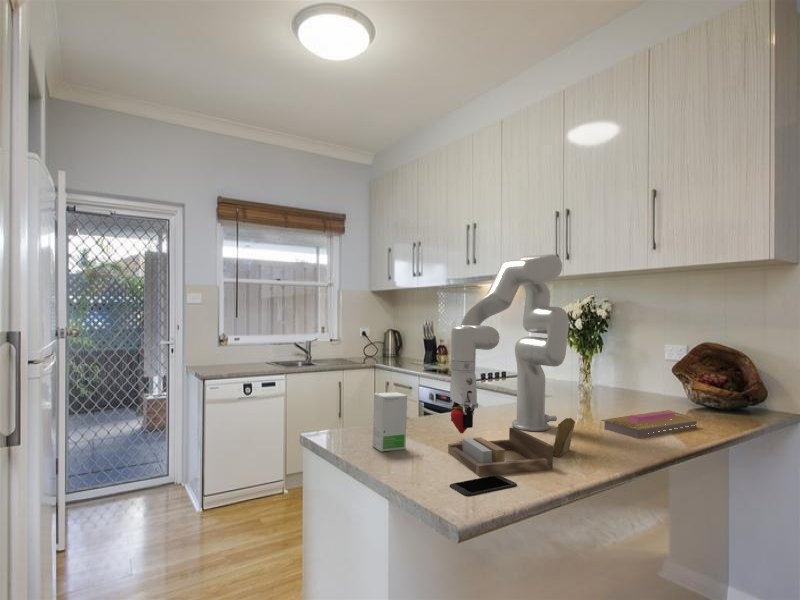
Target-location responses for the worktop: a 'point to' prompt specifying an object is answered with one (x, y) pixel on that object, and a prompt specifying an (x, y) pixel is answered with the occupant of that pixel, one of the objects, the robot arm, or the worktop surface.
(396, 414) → the skincare box
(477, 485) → the smartphone
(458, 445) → the rack
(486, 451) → the outer offcut board
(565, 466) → the worktop surface
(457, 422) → the strawberry
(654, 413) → the brown slab
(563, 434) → the rock
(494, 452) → the inner offcut board
